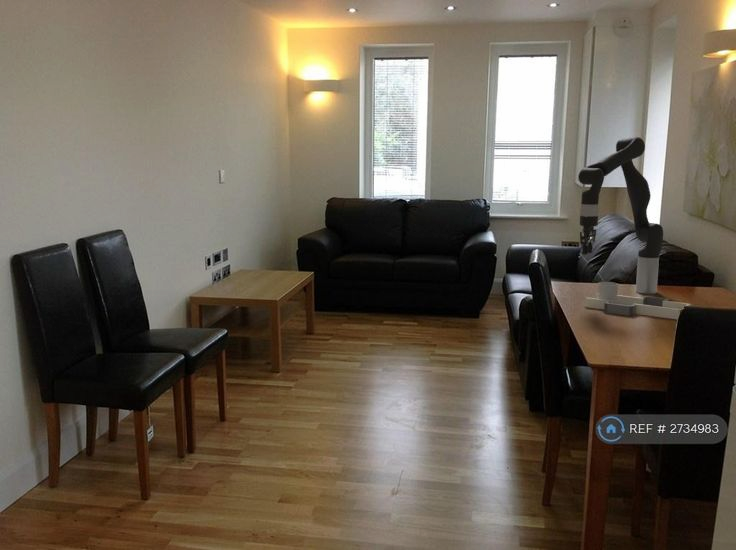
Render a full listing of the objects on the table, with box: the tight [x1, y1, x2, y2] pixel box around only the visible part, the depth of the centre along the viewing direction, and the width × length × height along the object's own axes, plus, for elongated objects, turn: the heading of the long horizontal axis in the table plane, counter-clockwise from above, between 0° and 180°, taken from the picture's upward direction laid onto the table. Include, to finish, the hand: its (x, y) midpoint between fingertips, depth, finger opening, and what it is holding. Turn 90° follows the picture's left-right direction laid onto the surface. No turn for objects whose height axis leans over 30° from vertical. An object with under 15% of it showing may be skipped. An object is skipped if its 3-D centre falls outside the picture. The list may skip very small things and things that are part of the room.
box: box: [584, 292, 692, 320], centre depth 273 cm, size 25×39×4 cm, turn 52°
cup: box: [597, 281, 619, 304], centre depth 280 cm, size 8×8×10 cm
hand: (587, 253), depth 283 cm, fingers open, 4 cm apart
